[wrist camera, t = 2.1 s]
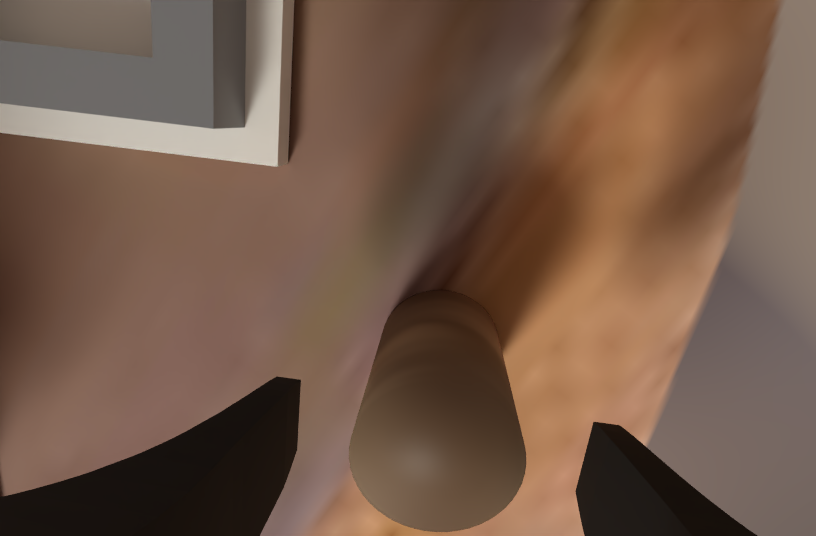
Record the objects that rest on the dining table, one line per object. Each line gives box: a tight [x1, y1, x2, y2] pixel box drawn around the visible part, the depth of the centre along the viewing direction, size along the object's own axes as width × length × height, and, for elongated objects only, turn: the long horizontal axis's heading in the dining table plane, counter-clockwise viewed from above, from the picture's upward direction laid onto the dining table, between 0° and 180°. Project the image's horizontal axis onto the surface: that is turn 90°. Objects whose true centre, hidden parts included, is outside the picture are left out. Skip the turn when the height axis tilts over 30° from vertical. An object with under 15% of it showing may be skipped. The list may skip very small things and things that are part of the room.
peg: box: [349, 290, 526, 532], centre depth 14 cm, size 4×4×6 cm
